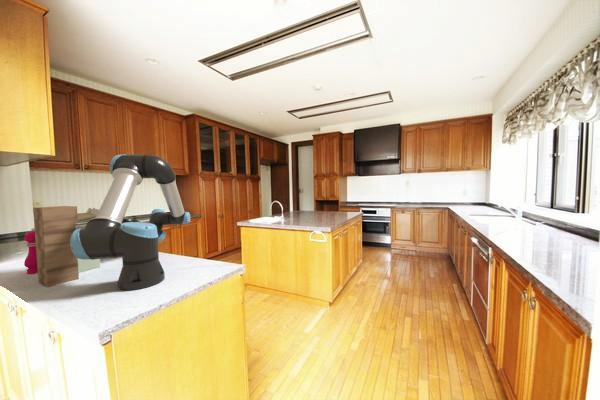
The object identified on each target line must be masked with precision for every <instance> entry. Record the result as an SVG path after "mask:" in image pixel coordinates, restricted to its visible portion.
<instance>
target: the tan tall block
mask: <svg viewBox="0 0 600 400" xmlns="http://www.w3.org/2000/svg"><path fill="white" fill-rule="evenodd" d="M73 206H74V205H73ZM74 212H75V224H76V223H80V222H88V221H89V220H91V219H93V218H96V215H93V214H90V213H91V212H90V213H86V212H80V213H78V206H74Z"/></svg>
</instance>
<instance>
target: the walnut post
mask: <svg viewBox="0 0 600 400" xmlns="http://www.w3.org/2000/svg"><path fill="white" fill-rule="evenodd" d="M32 212H33V224H34V225H33V226H34V227H33V228H35V241H36V254H37V268H38V273H37V278H38V279H37V281H38V284H39V285H42V286H44V287H46V288H50V287H55V286H57V285H61V284H65V283H68V282H72V281H76V280H79V278H80V274H79V273H78V258H77V257H76V256H75V255H74V254H73V252H72V250H71V247H70V239H71V235H72V233H73V232H74V231H75V230H76V227H75V226H76V223H75V212H74V205H59V206H58V205H57V206H41V207H40V206H39V207H32Z"/></svg>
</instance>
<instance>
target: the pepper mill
mask: <svg viewBox="0 0 600 400" xmlns="http://www.w3.org/2000/svg"><path fill="white" fill-rule="evenodd" d="M23 239H24V241H25V242H27V243H26V247H28V254H27V256H26V258H25V259H24V263H23V265H24V266H25V268H27V269H26V274H27V275H34V274H35V275H36V274H38V268H37V254H36V241H35V227H33V228H31V230H30V232H27V233H26V234H25V235H24V238H23Z"/></svg>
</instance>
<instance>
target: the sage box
mask: <svg viewBox="0 0 600 400" xmlns="http://www.w3.org/2000/svg"><path fill="white" fill-rule="evenodd" d="M86 225H87V224H85V225H77V226H76V225H75V227H76V230H77V229H79V228H85V227H86ZM100 268H101V259H94V260H90V259H86V260H82V259H79V258H78V273H80V274H81V273H83V272H89V271H91V270H95V269H100Z"/></svg>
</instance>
